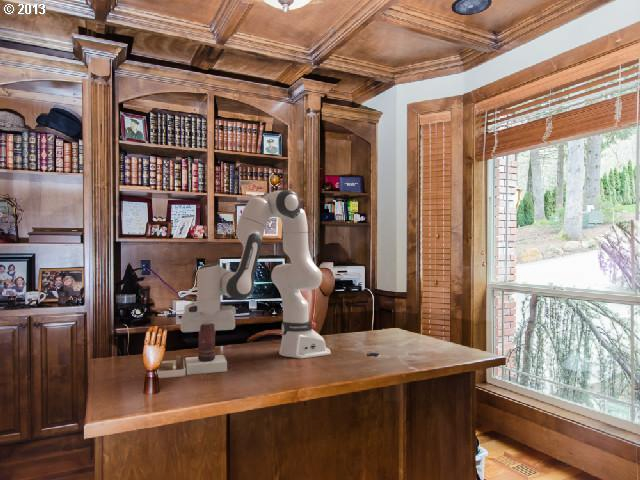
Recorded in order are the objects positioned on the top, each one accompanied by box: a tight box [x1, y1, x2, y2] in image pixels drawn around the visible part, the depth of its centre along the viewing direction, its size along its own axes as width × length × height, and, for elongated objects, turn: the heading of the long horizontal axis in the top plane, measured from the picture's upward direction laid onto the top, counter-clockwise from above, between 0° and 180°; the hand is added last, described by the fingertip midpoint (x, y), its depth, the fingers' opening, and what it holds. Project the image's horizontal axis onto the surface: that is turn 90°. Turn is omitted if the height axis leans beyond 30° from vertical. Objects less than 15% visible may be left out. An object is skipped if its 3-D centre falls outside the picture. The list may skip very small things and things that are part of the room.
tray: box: [157, 359, 186, 379], centre depth 165 cm, size 10×14×2 cm
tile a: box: [175, 355, 184, 370], centre depth 166 cm, size 5×4×2 cm
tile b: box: [159, 363, 173, 371], centre depth 164 cm, size 5×4×2 cm
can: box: [197, 324, 216, 362], centre depth 169 cm, size 6×6×14 cm
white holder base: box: [184, 354, 228, 376], centre depth 169 cm, size 14×11×4 cm
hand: (208, 342), depth 169 cm, fingers closed
